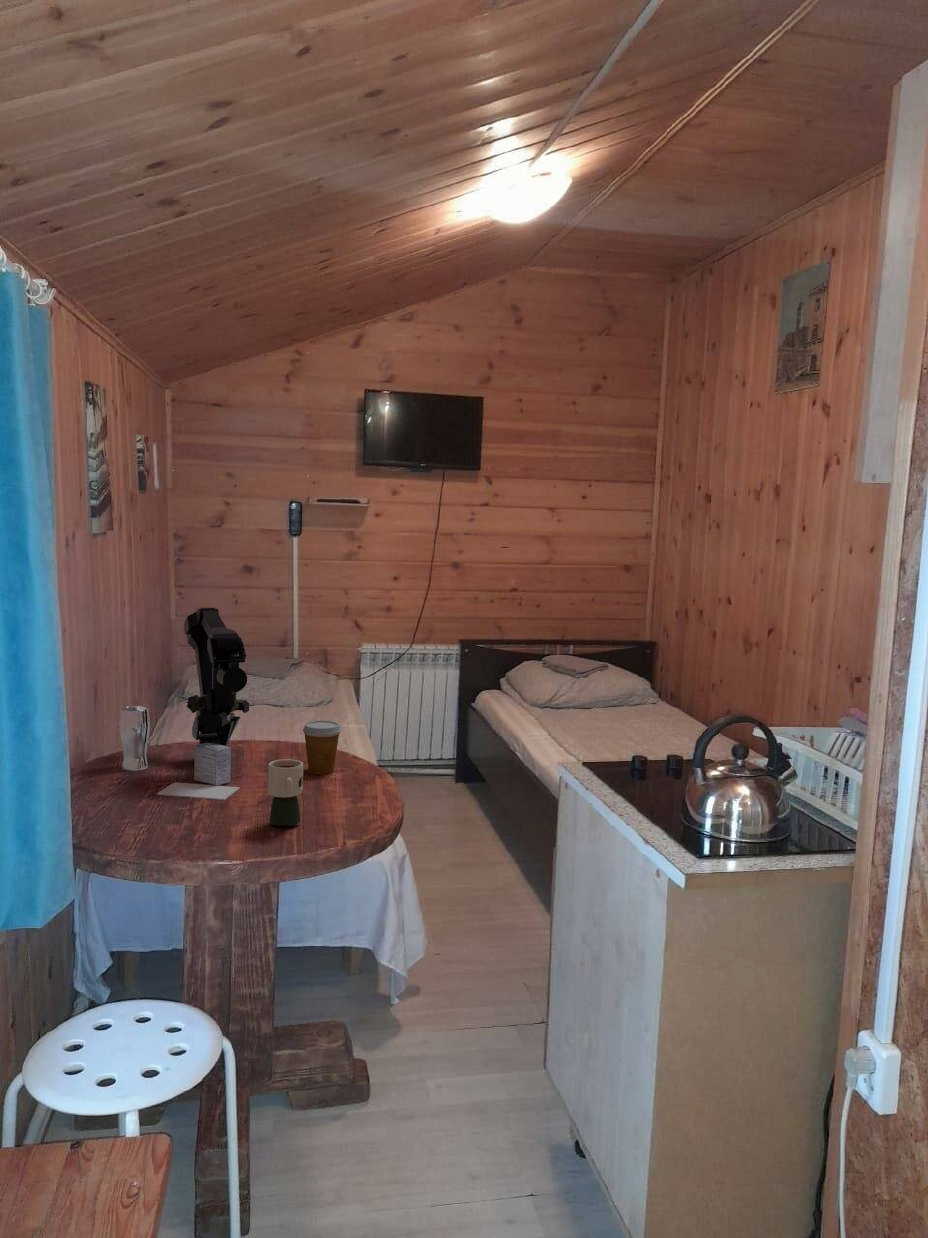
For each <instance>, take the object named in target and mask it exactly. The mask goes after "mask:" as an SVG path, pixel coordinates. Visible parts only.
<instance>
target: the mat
mask: <svg viewBox="0 0 928 1238" xmlns="http://www.w3.org/2000/svg"><path fill="white" fill-rule="evenodd" d="M239 790H240V787H239V786H238V787H237V786H226V785H217V786H216V785H212V784H201V783H200V784H199V783H188V782H186V783H185V782H177V781H175V782H173V783H171V784H170V785H168V786H166V787H165V788H163V789H162V790H160V791H158V792H156V795H157V796H163V797H164V796H167V797H177V798H178V797H179V798H191V799H202V800H218V801H226V800H227V799H228V798H231V796H232V795H233V794H235V793H236V792H237V791H239Z"/></svg>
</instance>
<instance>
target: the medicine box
mask: <svg viewBox="0 0 928 1238" xmlns="http://www.w3.org/2000/svg"><path fill="white" fill-rule="evenodd" d="M231 752H232V751H231V747H230V746H228V745H227V746H223V745H218V744H213V743H203V744H199V743H198V744H197V745H194V760H195V762H194V768H193V769H194V771H193V774H194V777H193V780H194V781H197V782H201V783H205V784H207V785H215V786H223V785H225V784H229V783H231V758H232V757H231V755H232V754H231Z"/></svg>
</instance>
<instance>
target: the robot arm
mask: <svg viewBox="0 0 928 1238" xmlns="http://www.w3.org/2000/svg"><path fill="white" fill-rule="evenodd" d="M183 633H184V634H185V636H186V641H187V644H189V646H190V647H191V648H192V649H193V651H194V652H195V662H196V669H197V677H198V678H197V680H198V688H199V694H200V695H197V694H194V695H191V696H189V697H188V699H187V701H186V703H187V705H186V708H187V709H189V710H190V711H191V714H195V713H196V714H195V716H194V720H193V724H192V727H191V734H192V738H193V739H195V741H198V742H199V743H198V745H199V744H203V743H213V744H218V745H223V746H227V747H228V744H229V742H230V740H231V738H232V736H233V733H234V731H235V729H236V727H237V725H238V724H239V721H240V720H241V716H237V715H236V714H235V713H234V712H237V711H241V712H242V713H243V714H246V713H248V712H249V711H250V703H249V702H248V700H246V699H238V698H237V693H238V692H240V691H242V690H243V689H244V688H245V687H246V686H247V683H248V675H247V673H246V672H245V670H243V669H242V668H240V664H242V663H243V664H244V663H246V658H247V653H246V649H245V644H244V642H243V641H242V637H241V636H240V635H239V633H238V632H237V631H235V630H234V629H230V628H228V627H227V626H226V624H225V623H224V621H223V619H222V617H221V616H220V613H219V609H218V608H216V607H199V608H197V609H196V611H195V612H192V613H191V614H189V615H187V616H186V618H185V620H184V622H183ZM193 762H194V763H195V759H194V760H193Z"/></svg>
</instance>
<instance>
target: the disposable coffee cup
mask: <svg viewBox="0 0 928 1238" xmlns="http://www.w3.org/2000/svg"><path fill="white" fill-rule="evenodd" d="M341 731H342V728H341V726H340V723H338V722H336V721H332V720H313V721H308V722H306V723H305V724H304V726H303V728H302V732H303V734H304V739H305V740H304V741H305V750H306V760H307V768H308V769H307V770H308V773H310V774H313V775H329V774H332V773H334V770H335V764H336V758H337V757H336V756H337V750H338V744H339V737H340V734H341Z"/></svg>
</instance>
